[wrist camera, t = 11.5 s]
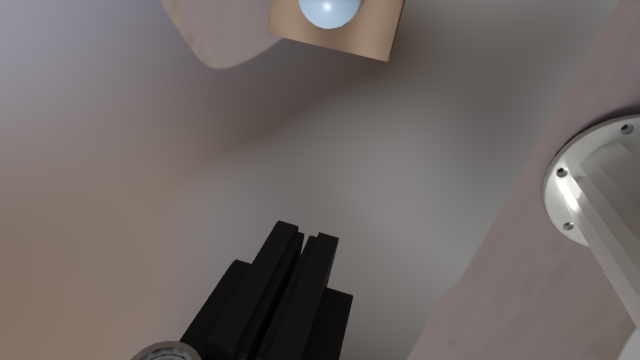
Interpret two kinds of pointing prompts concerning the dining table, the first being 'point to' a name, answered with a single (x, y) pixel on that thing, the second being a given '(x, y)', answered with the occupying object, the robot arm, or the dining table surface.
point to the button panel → (342, 27)
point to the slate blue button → (330, 11)
